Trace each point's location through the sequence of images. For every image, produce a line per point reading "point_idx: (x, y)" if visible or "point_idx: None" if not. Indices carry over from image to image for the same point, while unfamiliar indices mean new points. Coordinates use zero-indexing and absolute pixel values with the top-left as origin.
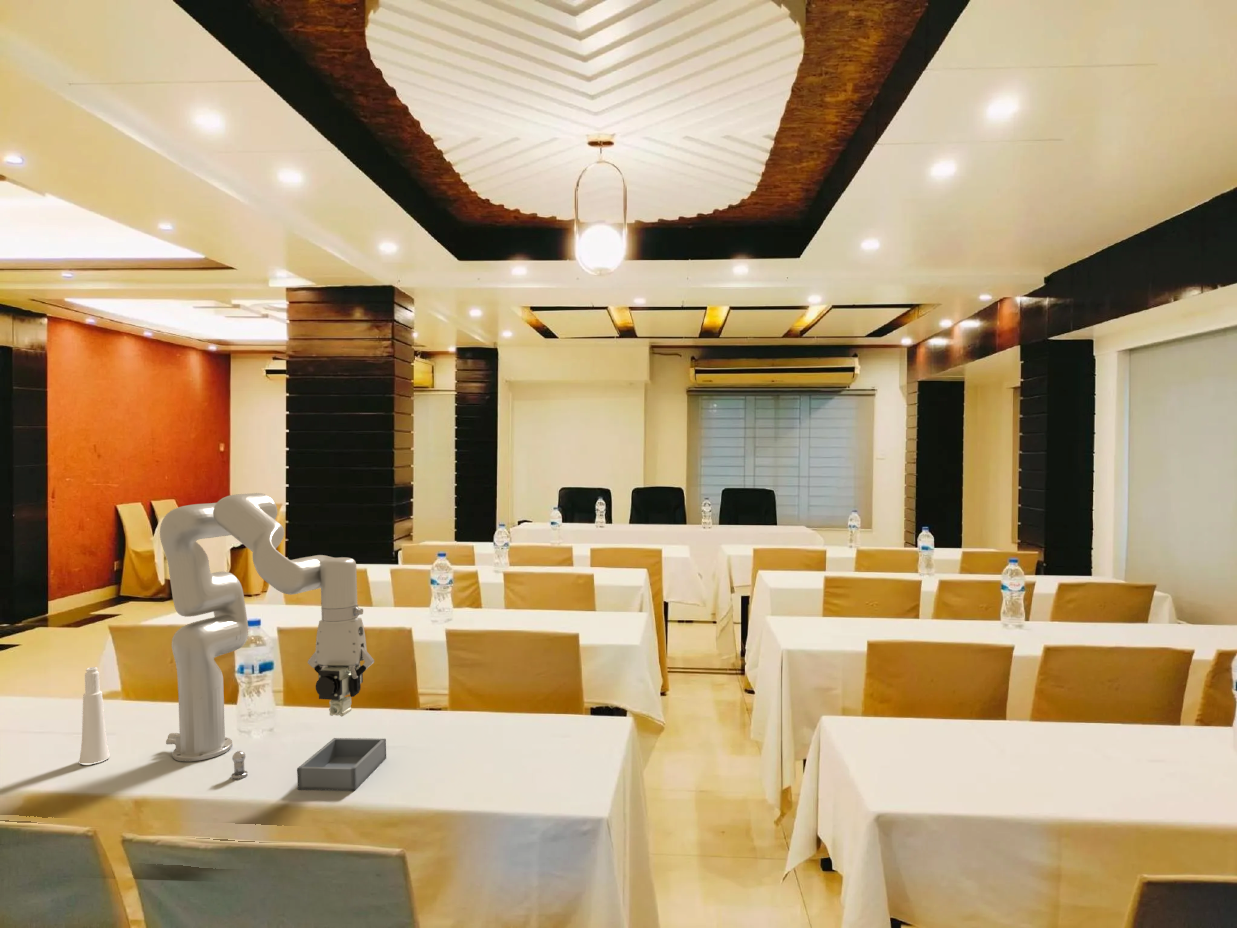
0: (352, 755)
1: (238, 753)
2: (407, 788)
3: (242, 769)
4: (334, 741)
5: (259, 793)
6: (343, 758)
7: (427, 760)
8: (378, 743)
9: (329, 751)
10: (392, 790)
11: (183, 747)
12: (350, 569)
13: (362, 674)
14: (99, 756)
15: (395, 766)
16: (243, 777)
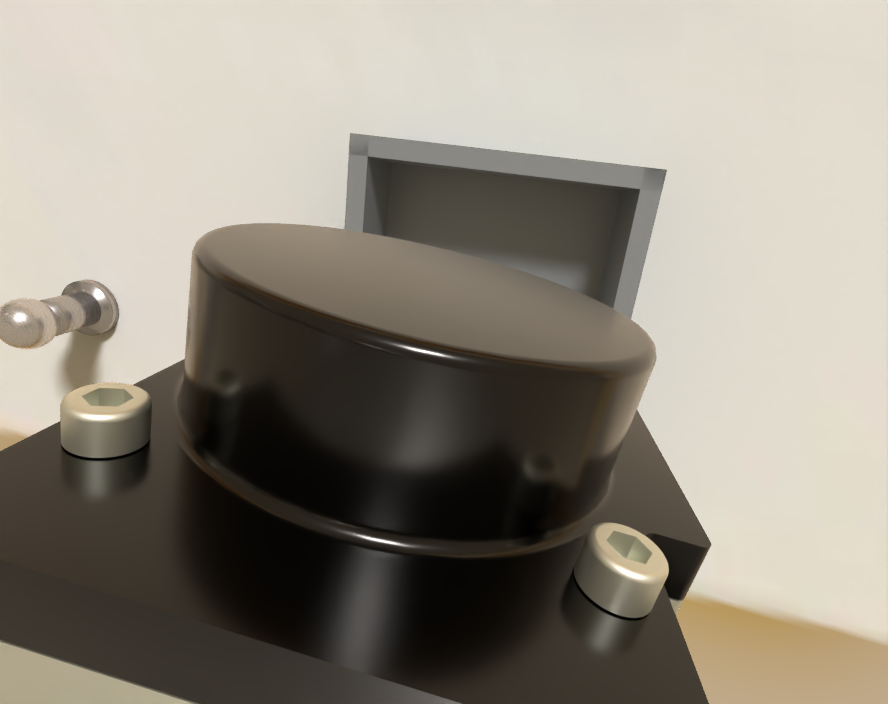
0: (471, 172)
1: (14, 341)
2: (779, 492)
3: (85, 320)
4: (368, 172)
5: None
6: (435, 193)
7: (864, 222)
8: (634, 243)
9: (373, 231)
10: (718, 498)
11: None
12: None
13: (668, 478)
14: None
15: (701, 278)
16: (115, 323)
